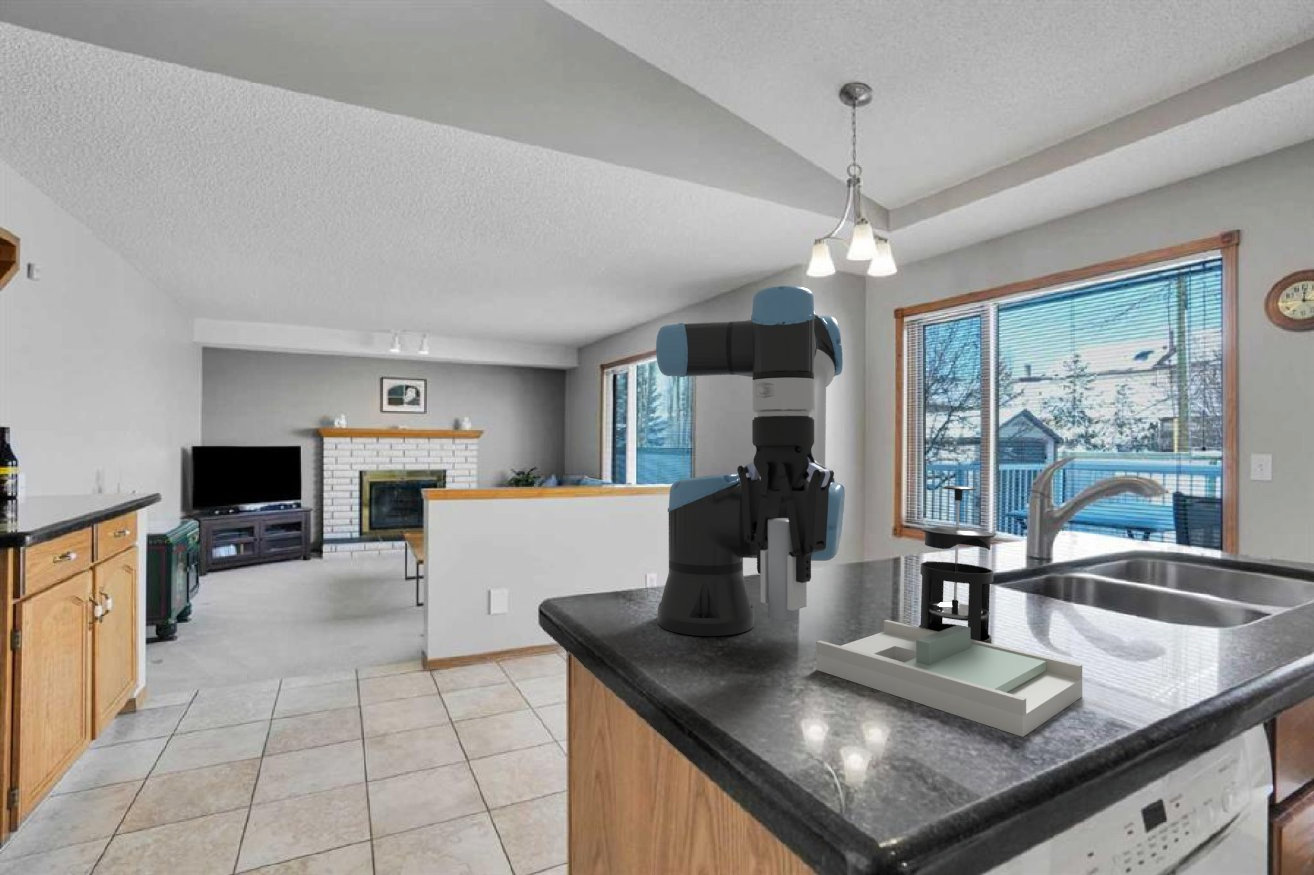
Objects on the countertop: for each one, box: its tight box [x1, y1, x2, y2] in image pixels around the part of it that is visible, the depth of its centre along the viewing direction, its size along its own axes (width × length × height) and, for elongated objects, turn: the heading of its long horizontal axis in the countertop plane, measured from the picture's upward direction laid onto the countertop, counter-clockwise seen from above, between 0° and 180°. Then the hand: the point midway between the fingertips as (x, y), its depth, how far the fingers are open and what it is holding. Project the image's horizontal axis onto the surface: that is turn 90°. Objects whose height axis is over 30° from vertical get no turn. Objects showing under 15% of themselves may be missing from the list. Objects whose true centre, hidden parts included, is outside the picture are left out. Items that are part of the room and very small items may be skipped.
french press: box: [918, 485, 996, 644], centre depth 89 cm, size 12×9×23 cm
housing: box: [815, 619, 1083, 738], centre depth 77 cm, size 24×16×4 cm, turn 40°
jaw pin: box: [767, 518, 799, 622], centre depth 80 cm, size 4×4×12 cm
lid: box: [903, 624, 1046, 692], centre depth 74 cm, size 10×14×4 cm
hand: (783, 603), depth 81 cm, fingers closed on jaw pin, 3 cm apart
